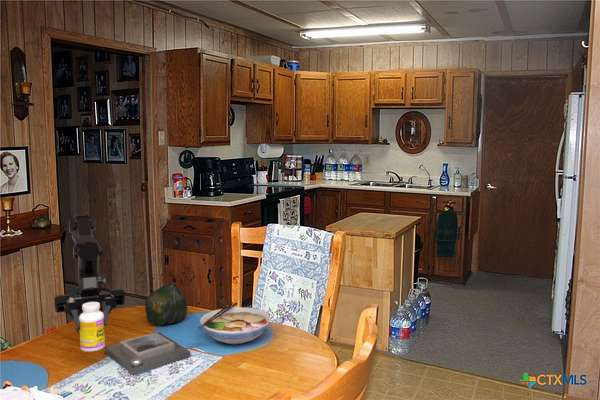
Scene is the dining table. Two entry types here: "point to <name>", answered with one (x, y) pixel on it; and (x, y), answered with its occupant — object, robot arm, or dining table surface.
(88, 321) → the supplement bottle
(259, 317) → the ramen bowl
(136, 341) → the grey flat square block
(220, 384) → the dining table surface
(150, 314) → the squash
